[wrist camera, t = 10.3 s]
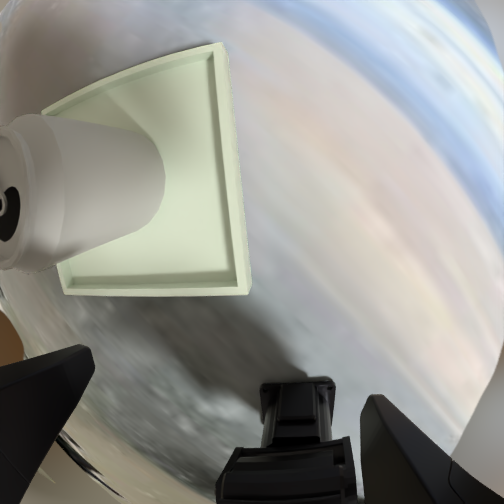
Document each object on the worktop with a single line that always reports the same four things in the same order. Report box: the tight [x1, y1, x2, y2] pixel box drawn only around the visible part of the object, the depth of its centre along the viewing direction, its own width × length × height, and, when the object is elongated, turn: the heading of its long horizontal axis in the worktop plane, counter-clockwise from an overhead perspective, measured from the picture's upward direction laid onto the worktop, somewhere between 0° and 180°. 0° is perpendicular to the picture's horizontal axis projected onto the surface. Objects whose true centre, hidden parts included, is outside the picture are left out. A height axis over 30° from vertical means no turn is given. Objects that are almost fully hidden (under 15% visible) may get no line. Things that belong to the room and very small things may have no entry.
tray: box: [41, 42, 252, 297], centre depth 19 cm, size 17×17×2 cm
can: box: [0, 113, 166, 274], centre depth 13 cm, size 8×8×12 cm
